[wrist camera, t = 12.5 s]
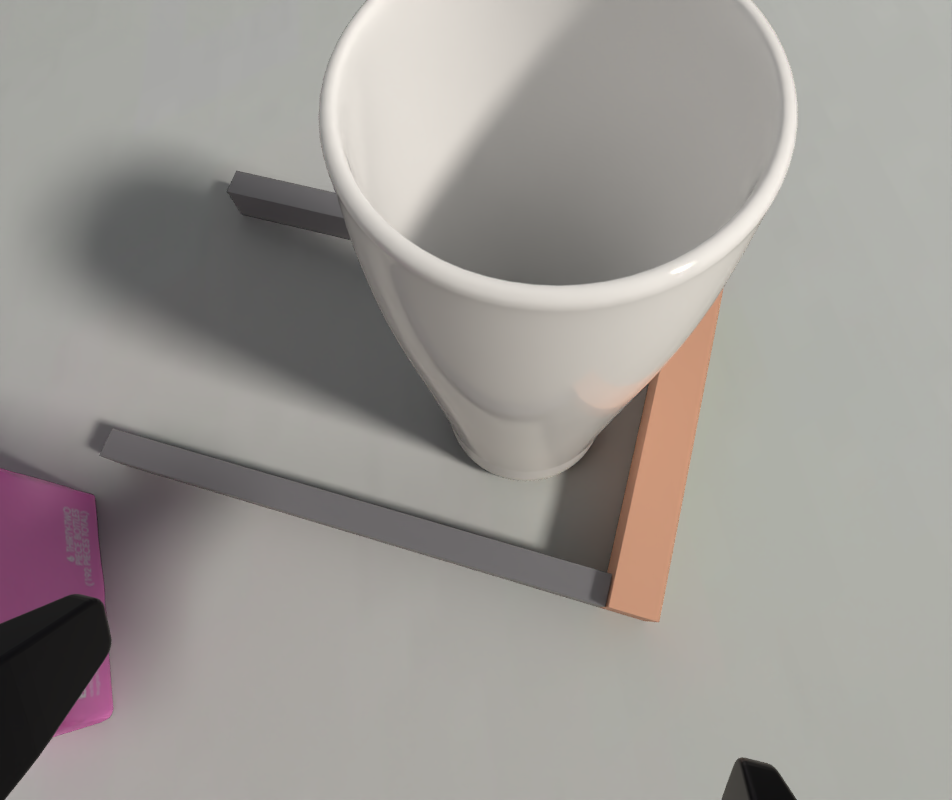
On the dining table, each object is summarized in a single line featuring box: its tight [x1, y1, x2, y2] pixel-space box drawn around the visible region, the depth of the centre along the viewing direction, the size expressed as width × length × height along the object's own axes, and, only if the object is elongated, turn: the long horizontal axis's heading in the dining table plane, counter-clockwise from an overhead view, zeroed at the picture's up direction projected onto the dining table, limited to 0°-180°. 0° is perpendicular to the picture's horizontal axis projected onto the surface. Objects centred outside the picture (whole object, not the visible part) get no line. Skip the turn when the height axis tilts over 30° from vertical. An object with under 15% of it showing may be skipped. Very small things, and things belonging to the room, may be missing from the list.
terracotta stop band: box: [600, 289, 723, 622], centre depth 21 cm, size 2×12×2 cm, turn 164°
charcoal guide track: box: [99, 171, 612, 607], centre depth 23 cm, size 18×12×2 cm
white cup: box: [319, 0, 798, 481], centre depth 16 cm, size 7×7×15 cm
